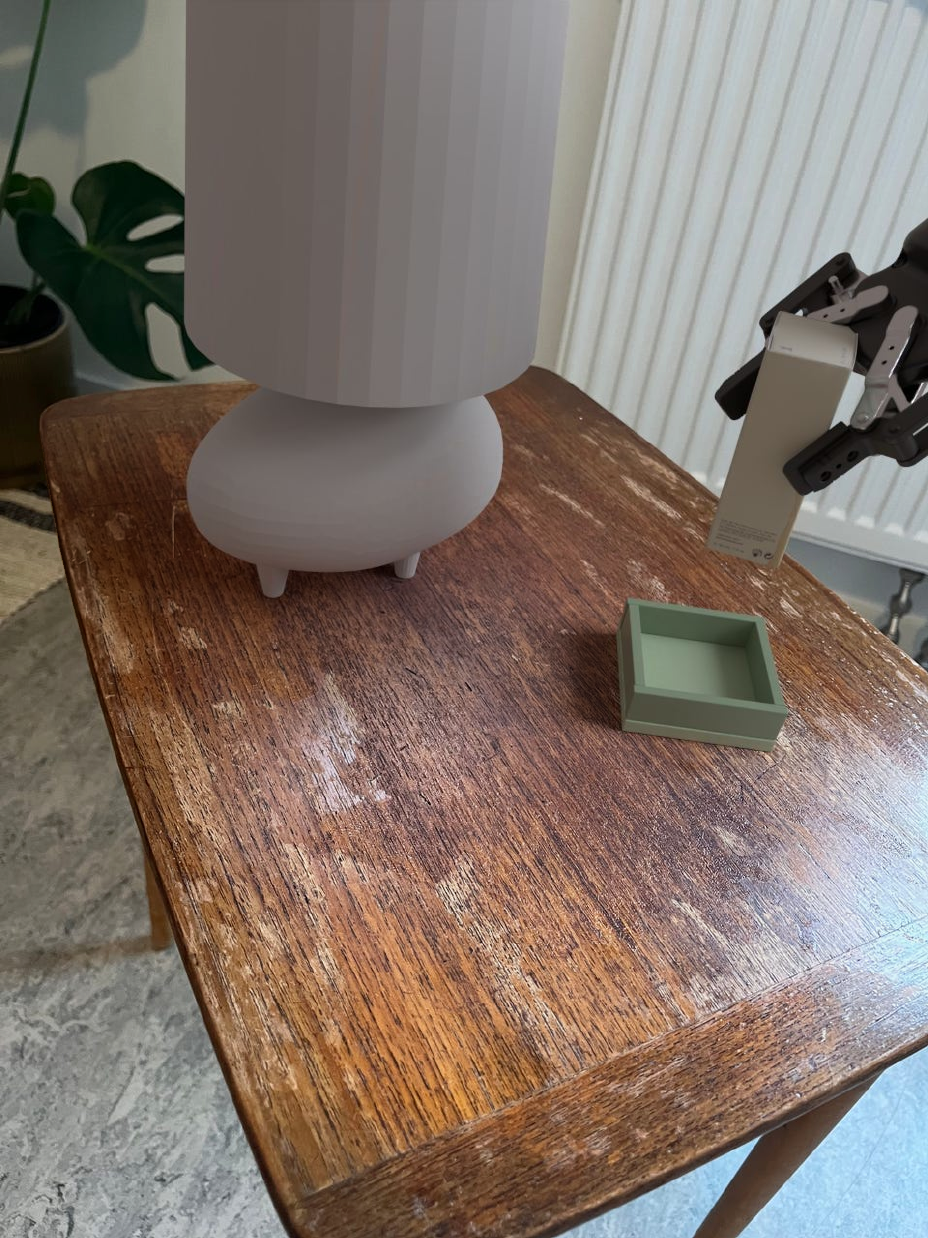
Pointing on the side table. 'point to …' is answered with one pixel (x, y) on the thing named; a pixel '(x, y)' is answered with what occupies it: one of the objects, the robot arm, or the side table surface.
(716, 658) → the green open storage bin
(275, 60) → the table lamp
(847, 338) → the cosmetic box
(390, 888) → the side table surface
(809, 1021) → the side table surface
